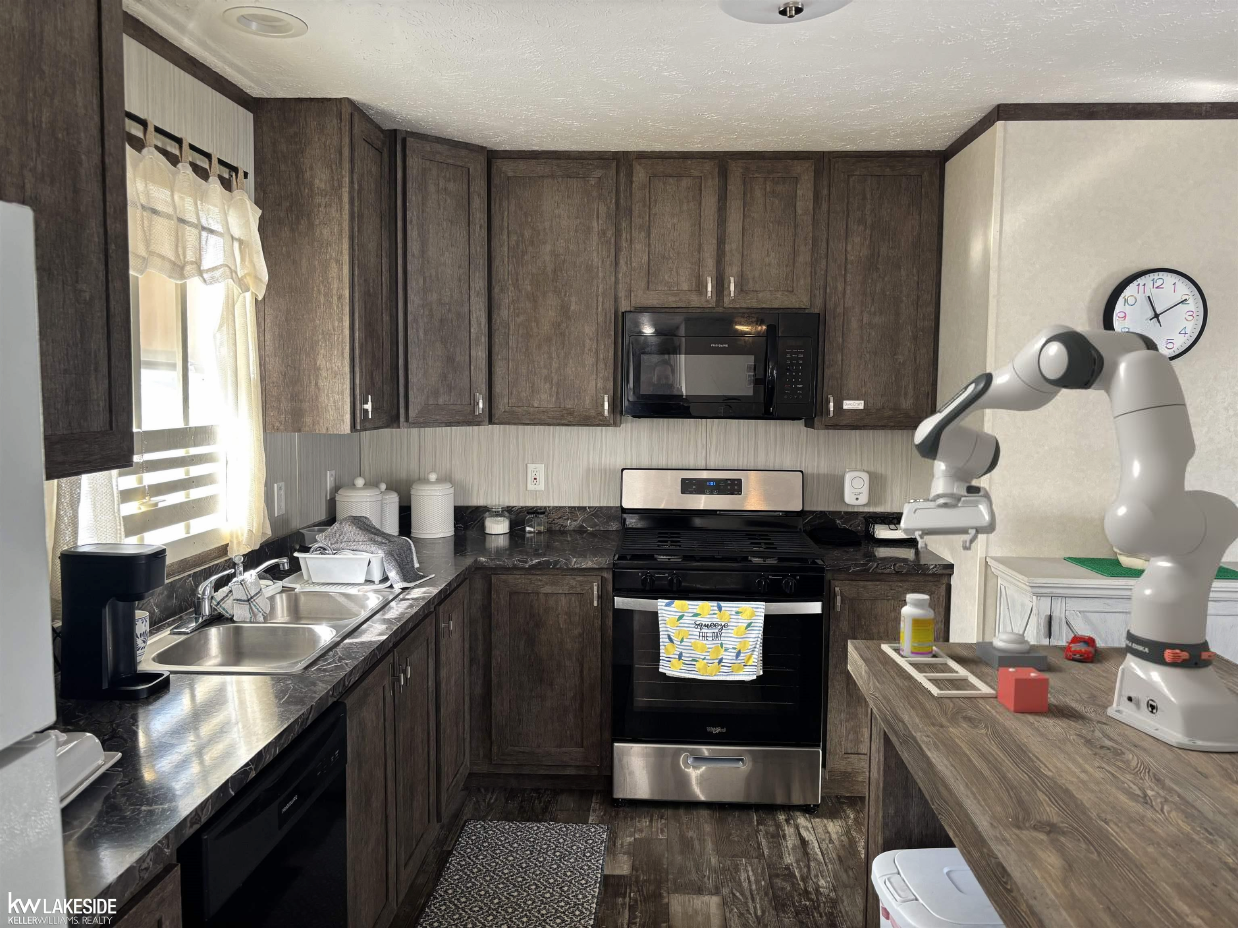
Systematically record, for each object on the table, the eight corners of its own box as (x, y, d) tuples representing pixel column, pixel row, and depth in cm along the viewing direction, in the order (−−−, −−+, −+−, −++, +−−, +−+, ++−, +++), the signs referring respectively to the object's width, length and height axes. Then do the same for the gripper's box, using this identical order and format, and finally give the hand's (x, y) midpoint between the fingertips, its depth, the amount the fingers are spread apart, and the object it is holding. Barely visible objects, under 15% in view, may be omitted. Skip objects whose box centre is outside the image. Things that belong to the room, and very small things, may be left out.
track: (996, 696, 158) (996, 692, 158) (936, 696, 158) (936, 692, 158) (931, 647, 189) (931, 644, 189) (881, 647, 189) (881, 644, 189)
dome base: (1046, 670, 174) (1047, 655, 174) (997, 670, 174) (998, 655, 173) (1022, 655, 184) (1023, 641, 184) (975, 655, 184) (976, 641, 183)
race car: (1091, 666, 178) (1092, 647, 178) (1062, 661, 181) (1062, 642, 181) (1099, 650, 189) (1100, 632, 188) (1071, 646, 192) (1072, 628, 192)
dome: (1036, 653, 175) (1036, 639, 175) (1002, 653, 175) (1002, 639, 175) (1019, 643, 182) (1020, 630, 182) (986, 643, 182) (987, 630, 182)
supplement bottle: (939, 657, 182) (941, 597, 181) (919, 662, 179) (921, 601, 178) (913, 649, 188) (915, 591, 187) (892, 653, 184) (895, 594, 183)
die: (1047, 711, 151) (1049, 677, 150) (1013, 711, 151) (1014, 677, 150) (1030, 699, 157) (1031, 666, 156) (997, 699, 157) (998, 666, 156)
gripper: (900, 492, 202) (892, 543, 195) (993, 487, 190) (988, 540, 183) (909, 507, 206) (901, 557, 199) (1000, 503, 194) (995, 556, 187)
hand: (944, 549), depth 191 cm, fingers open, 8 cm apart
